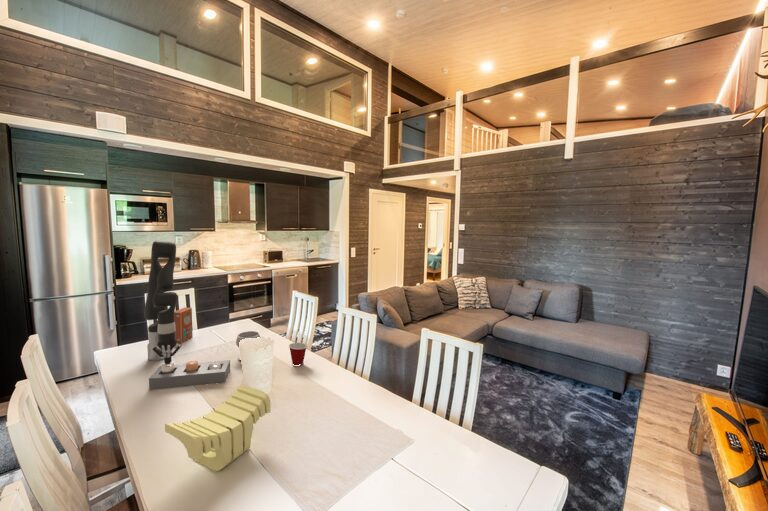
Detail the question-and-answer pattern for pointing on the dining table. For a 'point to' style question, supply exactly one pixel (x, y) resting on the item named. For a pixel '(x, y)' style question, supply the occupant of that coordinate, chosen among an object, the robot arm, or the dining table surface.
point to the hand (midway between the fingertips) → (168, 363)
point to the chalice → (246, 335)
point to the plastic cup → (297, 352)
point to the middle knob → (192, 366)
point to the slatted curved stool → (223, 428)
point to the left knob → (168, 368)
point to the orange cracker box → (183, 324)
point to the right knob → (215, 366)
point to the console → (190, 376)
